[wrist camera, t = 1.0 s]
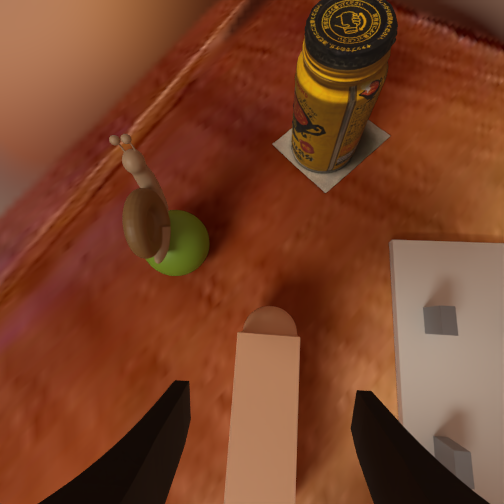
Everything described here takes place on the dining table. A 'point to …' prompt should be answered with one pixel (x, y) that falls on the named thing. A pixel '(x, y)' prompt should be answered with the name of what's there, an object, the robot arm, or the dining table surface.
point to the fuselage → (264, 411)
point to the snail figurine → (159, 222)
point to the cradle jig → (452, 355)
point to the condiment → (339, 88)
